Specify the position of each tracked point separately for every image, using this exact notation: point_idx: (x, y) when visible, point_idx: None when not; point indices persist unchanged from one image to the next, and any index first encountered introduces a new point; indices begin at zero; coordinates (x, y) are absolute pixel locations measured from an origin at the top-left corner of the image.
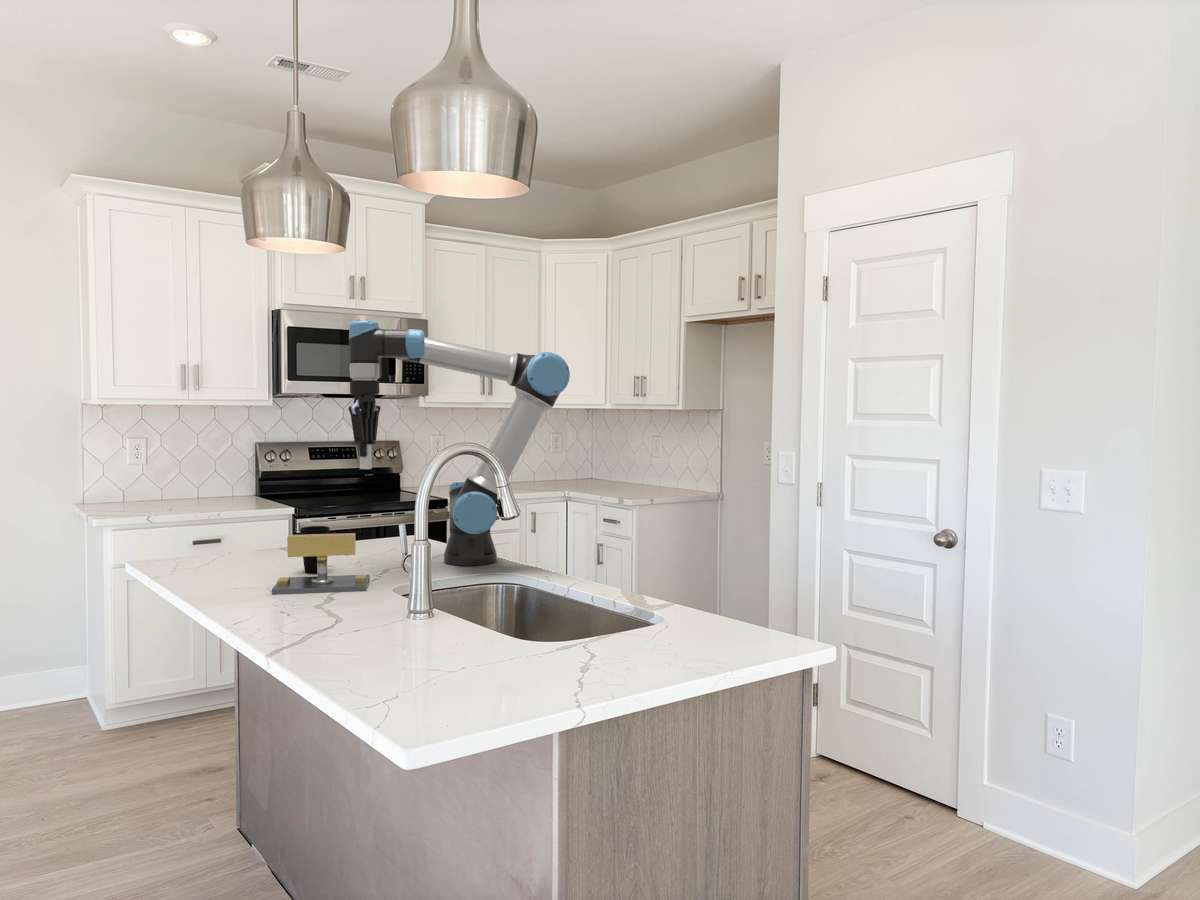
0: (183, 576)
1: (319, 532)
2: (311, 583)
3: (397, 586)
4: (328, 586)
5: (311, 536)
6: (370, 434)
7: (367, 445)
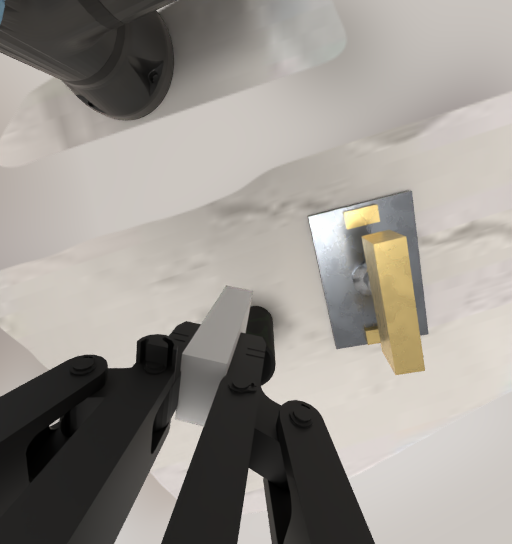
0: None
1: (268, 345)
2: None
3: (371, 142)
4: (411, 255)
5: (418, 326)
6: (139, 427)
7: (226, 369)
